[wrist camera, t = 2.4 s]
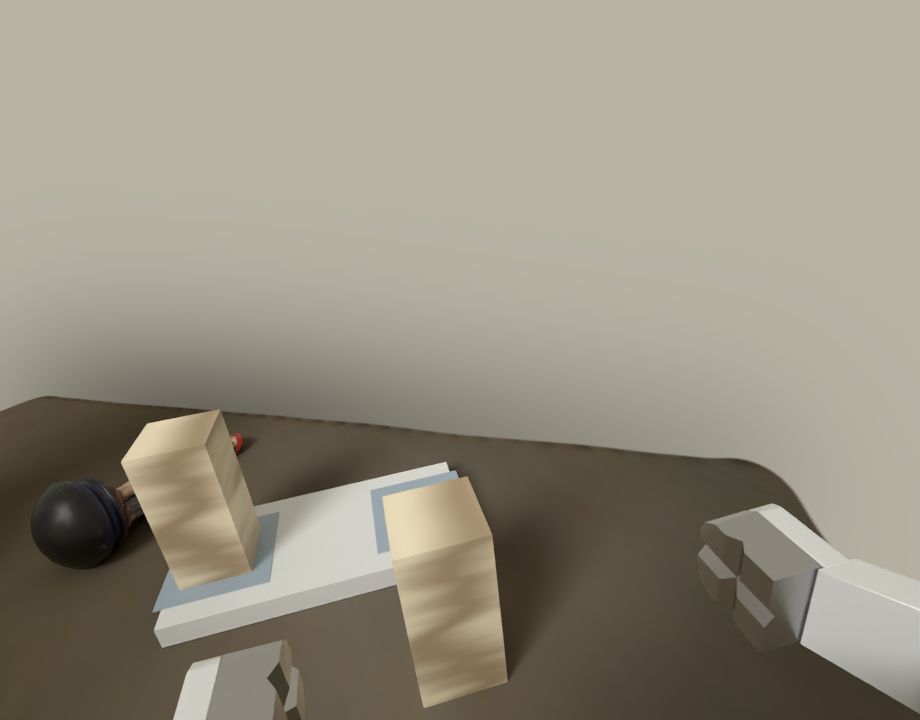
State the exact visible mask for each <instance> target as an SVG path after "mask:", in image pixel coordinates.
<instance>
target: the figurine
mask: <svg viewBox="0 0 920 720" xmlns="http://www.w3.org/2000/svg"><path fill="white" fill-rule="evenodd" d="M229 436H230V439H231V442H232V445H233V448H234V451H235V454H236V455H237V454H238V452H239V451H240V449H241V447H242V444H243V440H244V438H243V436H241V435H240V434H237V433H234V434H230V435H229ZM144 516H145V514H144V512H143V510H142V507H141V505H140V503H139V501H138V499H137V496H136V494H135V492H134V490H133V488H132V486H131V483H130V481H128V482H127V483H125V484H124V485H122V486H121V487H119V488H117V489H115V488H114V487H112V485H110V484H108V483H107V484H106V483H104V482H102V481H100V480H98V479H94V478H91V477H84V478H82V479H81V480H80V481H79V482H78V483H77V482H75V481H65V482H57V481H54V482H53V484H52V485H51V486H50V487H49V488H48V489H47V490H46V491H45V492H44V493H43V495H42V496H41V497H40V498H39V500H38V502H37V504H36V506H35V508H34V510H33V513H32V517H31V531H32V536H33V539H34V541H35V544H36V545H37V547H38V549H39V550H40V552H41V553H42V554H43V555H45V556H46V557H47V558H49V559H50V560H51V561H52V562H54V563H56V564H59V565H61V566H64V567H69V568H75V569H84V568H91V567H94V566H96V565H97V564H100V562H102V561H103V559H104V558H106V557H108V556H109V555H110V554H111V552H112V549H113V547H116V546H119V545H121V544H122V543H123V542H124V540H125V538H126V536H127V535H128V531H129V530H131V529H132V528H133V527H134V526H136V524H138V523H139V521H140V520H141V519H142V518H143V517H144Z"/></svg>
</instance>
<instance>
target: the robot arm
mask: <svg viewBox="0 0 920 720" xmlns="http://www.w3.org/2000/svg"><path fill="white" fill-rule="evenodd" d="M700 539H701V540H702V541H703V542H704V543H705V546H704V547H703V548H702V550H701V551H700V552H699V554H698V561H697V569H698V572H699V575H700V578H701V581H702V583H703V585H704V587H705V588H706V590H707V592H708V593H709V594H710V595H711V597H712V598H713V599H714V600H715V602H716V603H718V604H720V605H722V606H724V607H726V608H728V609H730V610H732V616H733V623H734V624H735V625H736V626H737V627H738V629H739V630H740V631H741V632H742V633H743V634H744V635H745V637H746V638H747V639H748V640H749V641H750V642H751V644H752V645H753V646H754V647H755V648H756V649H757V651H758V652H759V653H761V652H765V651H768V650H772V649H775V648H778V647H782V646H785V645H788V644H792V643H795V642H799V641H801V643H800V644H802V645H803V646H805V647H807V648H808V649H810V650H812V651H814V652H815V653H817V654H819V655H820V656H822V657H824V658H825V659H827V660H829V661H831V662H832V663H834V664H836V665H837V666H839V667H841V668H843V669H844V670H846V671H848V672H849V673H851V674H853V675H854V676H856V677H858V678H860V679H861V680H863V681H865V682H866V683H868V684H870V685H872V686H873V687H875V688H877V689H878V690H880V691H882V692H883V693H885V694H887V695H889V696H890V697H892V698H894V699H895V700H897V701H899V702H900V703H902V704H904V705H906V706H907V707H909V708H911V709H912V710H914V711H916V712H918V713H919V714H920V581H918V580H915V579H913V578H910V577H907V576H904V575H901V574H899V573H895V572H893V571H890V570H887V569H885V568H882V567H879V566H876V565H873V564H870V563H868V562H865V561H862V560H860V559H857V558H855V559H851V560H848V559H847V558H846V557H844V556H843V555H842V554H841V553H839V552H838V551H837V550H835V549H834V548H833V547H832V546H830V545H829V544H828V543H827V542H825V541H824V540H823V539H821V538H820V537H819V536H818V535H816V534H815V533H814V532H813V531H811V530H810V529H809V528H807V527H806V526H805V525H804V524H802V523H801V522H800V521H798V520H797V519H796V518H795V517H793V516H792V515H791V514H790V513H788V512H787V511H786V510H784V509H783V508H782V507H780V506H778V505H775V504H769V505H765V506H762V507H758V508H754V509H751V510H749V511H742V512H739V513H736V514H732V515H729V516H725V517H722V518H718V519H715V520H712V521H708V522H705V523H704V525H703V526H702V527H701V532H700ZM291 663H292V650H291V648H290V646H289V643H288V641H287V640H281V641H277V642H273V643H269V644H265V645H261V646H257V647H253V648H249V649H245V650H241V651H237V652H233V653H229V654H225V655H222V656H218V657H214V658H210V659H207V660H203V661H199V662H195V663H193V664H192V666H191V667H190V669H189V671H188V672H187V674H186V677H185V681H184V684H183V687H182V691H181V694H180V698H179V701H178V705H177V708H176V712H175V715H174V719H173V720H306V706H305V692H304V687H303V682H302V678H301V675H300V672H299V670H298V669H296V668H294V667H292V666H291Z"/></svg>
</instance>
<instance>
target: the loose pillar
mask: <svg viewBox="0 0 920 720" xmlns="http://www.w3.org/2000/svg"><path fill="white" fill-rule="evenodd" d="M382 499H383V506H384V513H385V519H386V526H387V533H388V539H389V546H390V553H391V559H392V565H393V569H394V574H395V578H396V583H397V588H398V592H399V597H400V602H401V606H402V611H403V615H404V620H405V625H406V629H407V634H408V638H409V643H410V648H411V652H412V657H413V661H414V666H415V671H416V675H417V680H418V685H419V689H420V694H421V698H422V703H423V708H427V707H431V706H434V705H437V704H440V703H443V702H446V701H450V700H453V699H456V698H459V697H462V696H465V695H468V694H472V693H475V692H478V691H481V690H484V689H487V688H491V687H494V686H497V685H500V684H503V683H506V682H508V678H507V669H506V659H505V650H504V641H503V631H502V622H501V612H500V603H499V594H498V584H497V575H496V565H495V556H494V546H493V537H492V533H491V531H490V528H489V526H488V524H487V521H486V519H485V517H484V514H483V512H482V510H481V507H480V505H479V503H478V500H477V498H476V495H475V493H474V491H473V488H472V486H471V484H470V481H469V479H468V477H467V476H466V477H462V478H458V479H454V480H449V481H445V482H441V483H437V484H433V485H428V486H424V487H420V488H416V489H412V490H407V491H403V492H399V493H395V494H391V495H387V496H382Z"/></svg>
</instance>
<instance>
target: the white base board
mask: <svg viewBox="0 0 920 720" xmlns="http://www.w3.org/2000/svg"><path fill="white" fill-rule="evenodd" d="M458 478H459V477H458V475H457V472H456V470H455V471H449V469H448V466H447V463H446V462H444V463H440V464H435V465H431V466H427V467H422V468H418V469H414V470H409V471H405V472H401V473H396V474H392V475H388V476H383V477H379V478H375V479H370V480H366V481H362V482H357V483H353V484H349V485H345V486H340V487H336V488H332V489H327V490H323V491H319V492H314V493H310V494H306V495H301V496H297V497H293V498H288V499H284V500H280V501H275V502H271V503H267V504H262V505H258V506H254V509H255V512H256V515H257V518H258V521H259V523H260V526H261V527H260V532H259V537H258V543H257V548H256V553H255V558H254V564H253V569H252V572H250V573H246V574H242V575H238V576H234V577H231V578H227V579H223V580H219V581H215V582H211V583H207V584H203V585H199V586H195V587H191V588H187V589H183V590H179V588H178V586H177V584H176V582H175V580H174V577H173V575H172V573H171V571H170V569H169V571H168V573H167V576H166V578H165V581H164V584H163V586H162V589H161V591H160V594H159V596H158V599H157V601H156V604H155V606H154V609H153V613H154V612H158V611H161V612H160V615H159V618H158V620H157V623H156V626H155V628H154V632H155V634H156V636H157V638H158V640H159V642H160V644H161V646H162V648H164V647H168V646H171V645H175V644H179V643H182V642H186V641H190V640H194V639H197V638H201V637H205V636H208V635H212V634H216V633H219V632H223V631H227V630H231V629H234V628H238V627H242V626H245V625H249V624H253V623H256V622H260V621H264V620H268V619H271V618H275V617H279V616H282V615H286V614H290V613H293V612H297V611H301V610H305V609H308V608H312V607H316V606H319V605H323V604H327V603H330V602H334V601H338V600H342V599H345V598H349V597H353V596H356V595H360V594H364V593H367V592H371V591H375V590H378V589H382V588H386V587H390V586H393V585H397V583H396V578H395V574H394V569H393V565H392V559H391V553H390V546H389V539H388V533H387V526H386V519H385V513H384V506H383V499H382V496H387V495H391V494H395V493H399V492H403V491H407V490H412V489H416V488H420V487H424V486H428V485H433V484H437V483H441V482H445V481H449V480H454V479H458Z"/></svg>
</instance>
